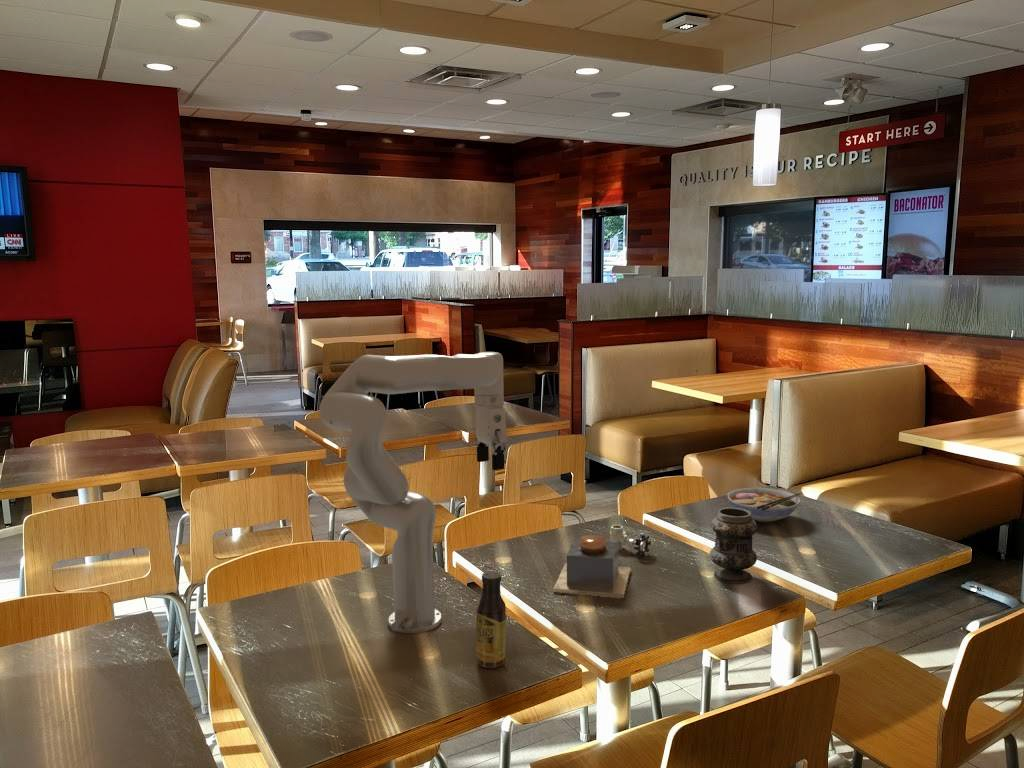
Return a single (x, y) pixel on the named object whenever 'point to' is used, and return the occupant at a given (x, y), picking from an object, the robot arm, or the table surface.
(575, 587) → the block
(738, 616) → the table surface
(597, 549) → the pin
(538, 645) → the table surface
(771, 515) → the ramen bowl
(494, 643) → the sauce bottle
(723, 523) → the apothecary jar
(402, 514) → the robot arm
